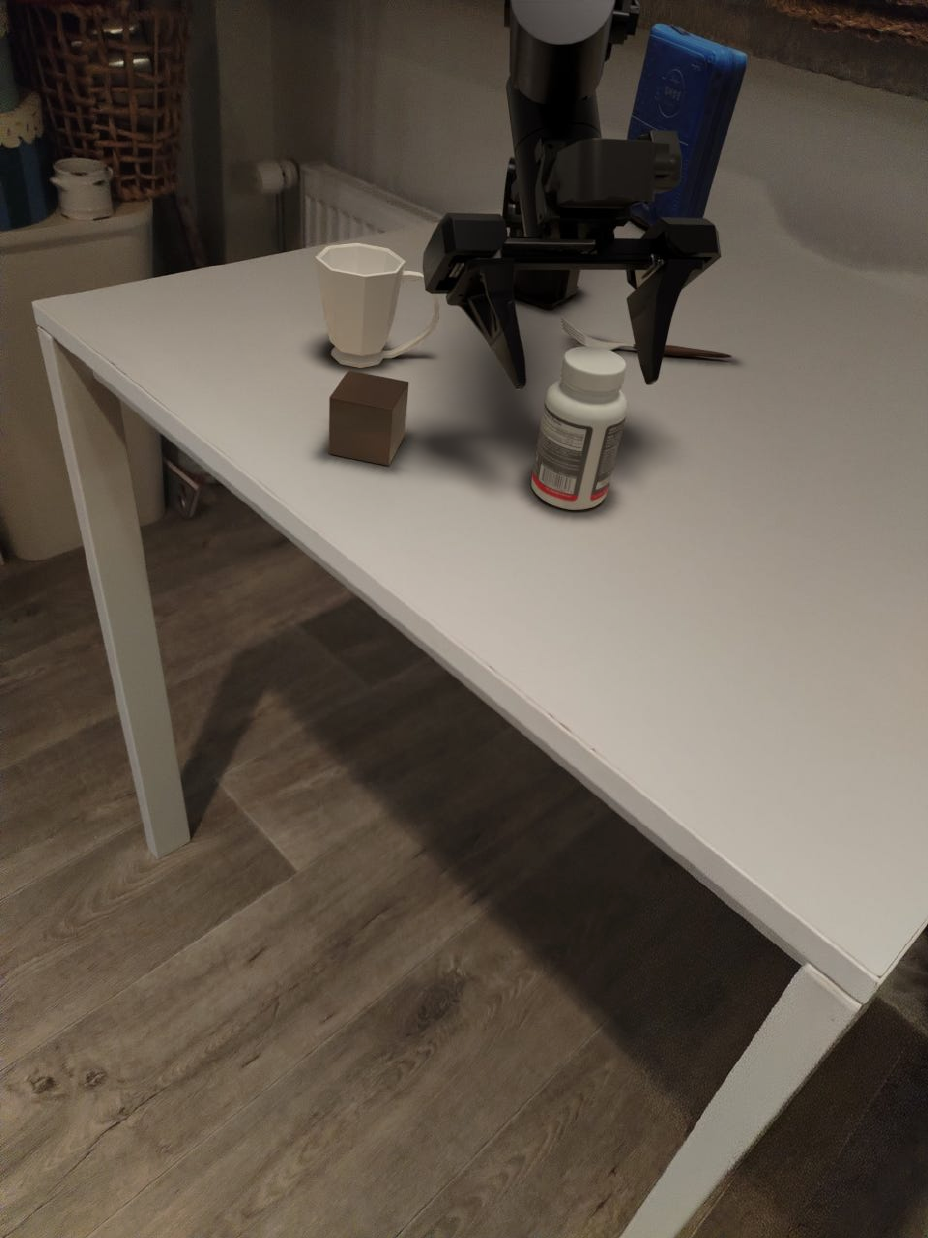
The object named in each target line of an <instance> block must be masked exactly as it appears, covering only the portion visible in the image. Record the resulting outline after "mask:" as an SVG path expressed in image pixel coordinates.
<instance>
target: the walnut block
mask: <svg viewBox="0 0 928 1238" xmlns="http://www.w3.org/2000/svg"><path fill="white" fill-rule="evenodd" d="M408 393H409V382H408V381H405V380H400V379H396V378H389V377H385V376H381V375H380V376H379V375H374V374H370V373H364V372H360V371H355V370H350V369H349V370H348V371H347V372H346V374H345V375H343V378H342V379H341V380H340V382H339V383H338V385H337V386H336V388H335V389H334V390H333V392H332V393H331V394H330V396H329V398H328V399H329V400H328V454H329V455H332V456H338V457H341V458H348V459H353V460H357V461H362V462H367V463H372V464H375V465H382V466H386V467H389V466H390V465H391V462H392V461H393V459H394V457H395V455H396V454H397V451H398V450H399V448H400V446H401V444H402V442H403V440H404V438H405V435H406V421H407V411H408V409H407V407H408Z"/></svg>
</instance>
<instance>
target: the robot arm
mask: <svg viewBox="0 0 928 1238" xmlns="http://www.w3.org/2000/svg"><path fill="white" fill-rule="evenodd" d="M503 4H504V5H503V27H504V28H506V29H509V63H508V64H509V66H508V67H509V71H508V72H509V76H508V78H507V81H506V83H505V84H506V85H505V92H506V99H507V107H508V114H509V122H510V123H509V124H510V130H511V139H512V145H513V146H512V147H513V155H514V156H510V157H509V160H508V164H507V169H506V170H507V171H506V175H505V182H504V190H503V191H504V192H503V200H502V212H501V213H481V212H480V213H477V212H476V213H474V212H446V213H445V215H444V216H443V217H442V218H441V219H440V221H439V222H438V223H437V225H436V227H435V229H434V231H433V233H432V235H431V237H430V238H429V241H428V243H427V245H426V247H425V249H424V251H423V256H422V274H423V275H424V282H423V283H424V291H425V292H427V293H429V294H431V295H433V294H437V295H445V301H446V304H447V305H448V306H451V307H452V306H453V307H459V308H460V309H461V310H462V311H463V312H464V313H465V315H466V316H467V318H468V319H469V320H470V322H471V323H472V324H473V326H475V328H476V329H477V330H478V332H479V333H480V334H481V336H482V337H483V338H484V340H485V342H486V343H487V345H488V347H489V348H490V350H491V351H492V353H493V355H494V356H495V358H496V359H497V361H498V363H499V365H500V366H501V368H502V369H503V371H504V373H505V375H506V376H507V378H508V379H509V381H510V383H511V384H512V386H513V388H514V389H515V390H522V389H523V388H524V387H526V385H527V373H526V372H527V371H526V359H525V353H524V352H525V351H524V347H523V341H522V336H521V331H520V325H519V319H518V314H517V313H518V312H517V308H516V302H515V298H516V299H518V300H522V301H524V302H528V303H531V304H533V305H536V306H539V307H542V308H545V309H553V308H555V307H556V306H558V305H559V304H561V303H563V302H564V301H566V300H567V299H569V298H570V297H572V296H574V295H575V294H577V293H578V292H579V287H580V286H578V283H579V278H580V273H581V271H625V274H626V281H627V283H628V284H629V285H630V286H631V287H632V288H633V289H634V290H633V291H632V292H631V293H630V294H629V295H628V296H627V297H626V304H627V308H628V314H629V319H630V323H631V329H632V334H633V340H634V344H635V345H636V349H635V350H636V354H637V360H638V366H639V368H640V371H641V374H642V377H643V380H644V383H645V385H647V386H649V385H651V386H652V385H654V383H656V382H658V380H659V378H660V374H661V369H662V364H663V360H664V355H665V354H664V351H665V346H666V345H667V342H668V341H667V340H668V335H669V332H670V327H671V322H672V319H673V315H674V311H675V309H676V305H677V303H678V300H679V297H680V295H681V294H682V293H681V292H682V291H683V289H685V288H686V287H687V286H688V285H690V284H691V283H692V282H693V281H695V280H696V279H697V278H698V277H699V276H700V275H702V274H703V273H704V272H705V271H706V270H708V269H709V268H710V267H711V266H712V265H714V264H715V263H716V262H717V261H719V260H720V259H721V258H722V249H721V243H720V235H719V231H718V229H717V227H716V224H714V223H713V222H712V221H710V220H709V219H707V218H706V217H703V218H669V217H660V218H659V219H658V220H657V221H656V222H655V223H654V224H653V225H652V226H651V227H650V228H647V230H646V231H645V232H644V233H643V234H642V235H641V236H640V237H616V236H615V230H616V228H617V227H618V228H619V227H620V228H622V227H623V228H624V227H625V226H626V225H627V224H628V223H629V221H630V220H631V219H633V218H632V215H631V206H634V205H637V204H640V203H643V202H644V203H645V204H652V203H654V195H655V193H663V192H666V191H670V190H673V189H675V188H676V187H677V186H678V184H679V182H680V180H681V169H682V155H681V150H680V145H679V140H678V136H677V131H665V130H651V131H649V133H648V134H642V135H640V136H639V137H638V140H627V139H623V138H622V139H621V138H620V139H619V138H603V137H602V136H603V135H602V129H601V121H600V113H599V105H598V99H597V98H598V97H597V88H598V87H599V85H600V83H601V80H602V77H603V75H604V74H603V73H604V69H605V68H604V67H605V63H607V62H608V61H609V60H610V58H611V53H612V49H613V48H612V47H613V46H618V47H623V46H624V44H625V41H628V36H633V37H635V36H636V33H637V28H638V27H637V26H638V21H639V17H640V11H641V10H640V9H641V4H640V3H639V1H638V0H504V3H503ZM508 229H509V230H508ZM508 231H509V232H508Z"/></svg>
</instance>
